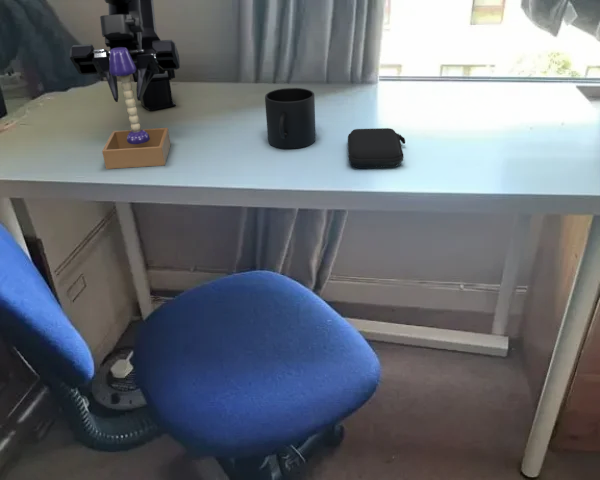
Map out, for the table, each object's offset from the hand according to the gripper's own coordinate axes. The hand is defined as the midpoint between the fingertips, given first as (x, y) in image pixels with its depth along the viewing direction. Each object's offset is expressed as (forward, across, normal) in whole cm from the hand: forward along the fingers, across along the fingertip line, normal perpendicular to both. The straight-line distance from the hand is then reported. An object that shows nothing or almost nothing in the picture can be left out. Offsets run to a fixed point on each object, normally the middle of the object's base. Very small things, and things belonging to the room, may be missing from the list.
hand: (127, 100), depth 112 cm
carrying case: (+12, +45, +4) cm, 46 cm away
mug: (+6, +29, +10) cm, 31 cm away
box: (+7, 0, +9) cm, 11 cm away
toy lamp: (+5, 0, +7) cm, 8 cm away
